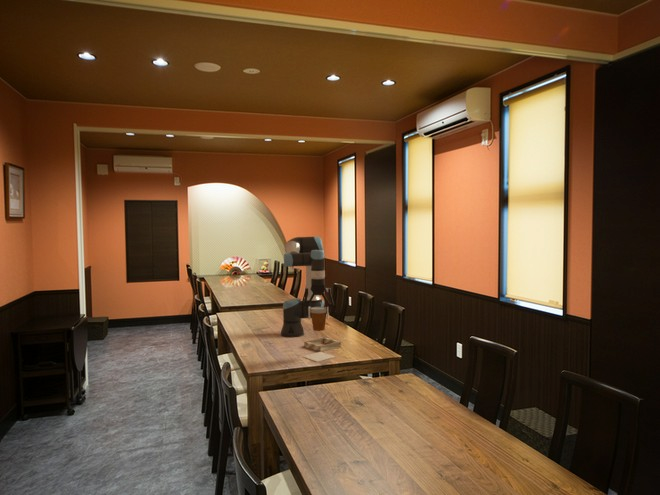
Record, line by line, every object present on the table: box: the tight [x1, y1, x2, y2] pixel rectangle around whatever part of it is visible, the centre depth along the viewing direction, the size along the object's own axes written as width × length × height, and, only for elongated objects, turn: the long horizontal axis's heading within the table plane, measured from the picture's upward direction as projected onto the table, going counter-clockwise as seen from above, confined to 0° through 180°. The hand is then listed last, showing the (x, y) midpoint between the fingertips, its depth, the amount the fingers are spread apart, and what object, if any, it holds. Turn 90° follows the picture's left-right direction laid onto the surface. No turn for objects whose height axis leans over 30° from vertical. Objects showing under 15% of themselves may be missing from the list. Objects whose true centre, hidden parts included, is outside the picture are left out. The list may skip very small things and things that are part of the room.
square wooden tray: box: [303, 336, 342, 352], centre depth 278 cm, size 15×15×3 cm
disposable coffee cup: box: [310, 306, 327, 332], centre depth 257 cm, size 10×10×12 cm
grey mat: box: [302, 351, 336, 363], centre depth 257 cm, size 13×13×1 cm
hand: (318, 318), depth 257 cm, fingers closed on disposable coffee cup, 9 cm apart
